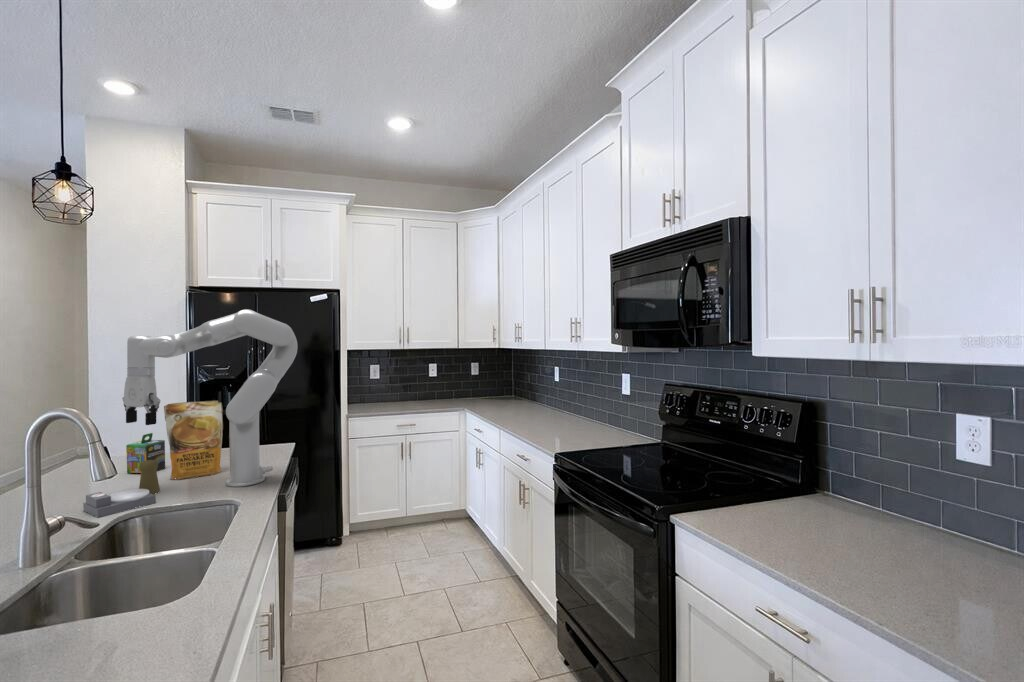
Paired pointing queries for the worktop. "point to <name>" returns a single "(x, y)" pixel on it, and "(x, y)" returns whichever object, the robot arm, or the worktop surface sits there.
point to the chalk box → (145, 453)
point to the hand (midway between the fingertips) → (141, 423)
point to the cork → (149, 476)
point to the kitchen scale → (117, 501)
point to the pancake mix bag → (194, 438)
